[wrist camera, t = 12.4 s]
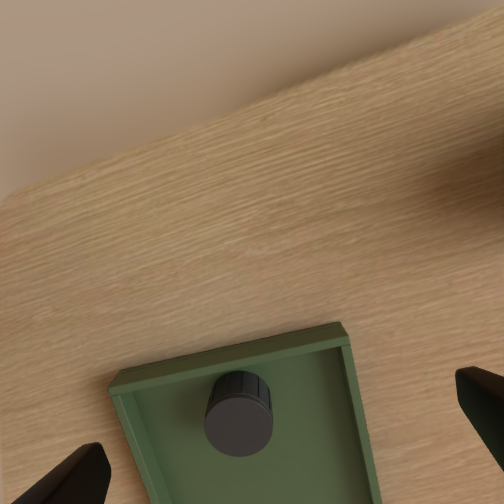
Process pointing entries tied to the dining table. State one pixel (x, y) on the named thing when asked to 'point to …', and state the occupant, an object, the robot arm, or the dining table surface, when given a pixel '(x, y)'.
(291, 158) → the dining table surface
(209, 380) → the tray
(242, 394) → the flask cap
